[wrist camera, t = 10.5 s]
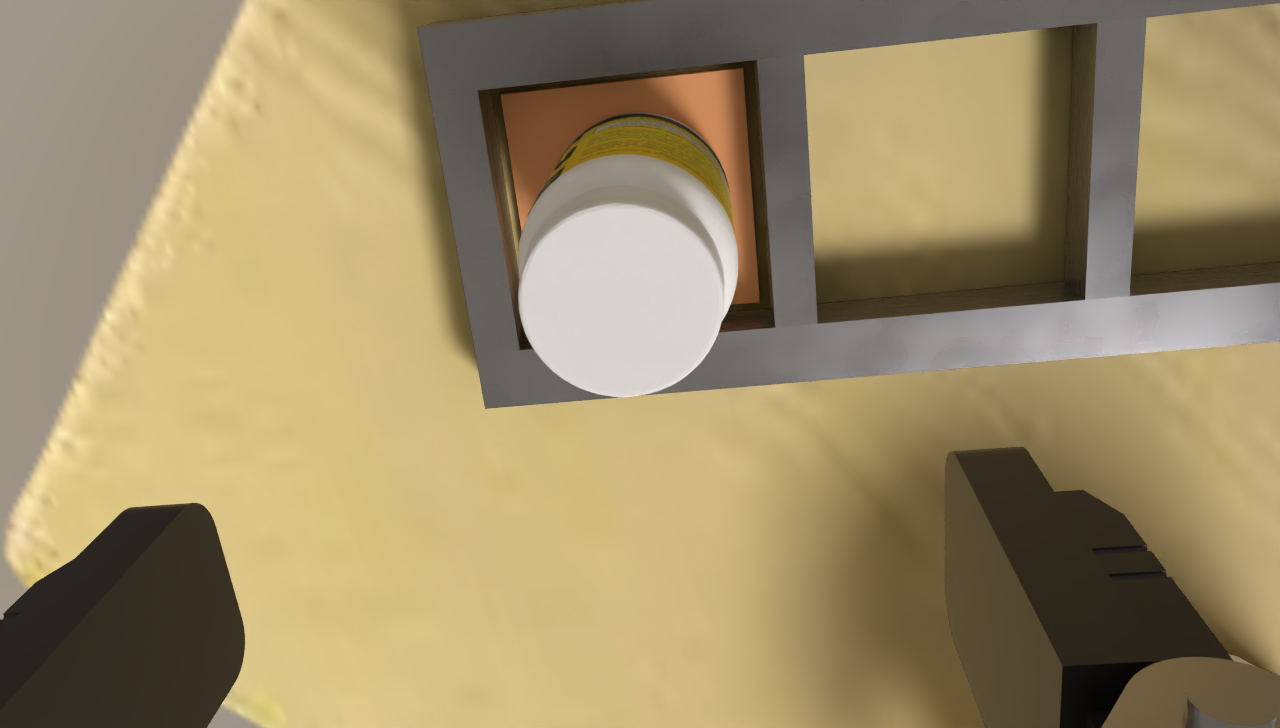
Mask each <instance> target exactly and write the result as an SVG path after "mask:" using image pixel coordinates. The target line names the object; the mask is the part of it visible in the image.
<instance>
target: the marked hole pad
mask: <svg viewBox="0 0 1280 728" xmlns="http://www.w3.org/2000/svg"><path fill="white" fill-rule="evenodd" d="M501 102H502V108H503V115H504V121H505V128H506V134H507V141H508V147H509V154H510V160H511V166H512V173H513V179H514V186H515V192H516V199H517V205H518V212H519V218H520V225H521V231H522V230H523V227H524V224H525V222H526V219H527V216H528V214H529V211H530V209H531V208H532V206H533V204H534V202H535V200H536V198H537V197H538V195H539V193H540V192H541V190H542V189H543V187H544V186H545V183H546V181H547V180H548V179H549V177H550V175H551V174H552V172H553V170H554V169H555V167H556V165H557V163H558V161H559V160H560V158H561V156H562V155H563V154H564V152H565V151H566V149H567V148H568V147H569V146H570V144H571V143H572V142H573V141H574V140H575V139H576V138H577V137H578V136H579V135H580V134H581V133H583V132H584V131H585V130H586V129H588V128H590V127H591V126H593V125H594V124H596V123H598V122H600V121H602V120H604V119H607V118H609V117H613V116H616V115H620V114H625V113H636V112H645V113H653V114H659V115H663V116H666V117H669V118H672V119H675V120H677V121H679V122H681V123H683V124H685V125H687V126H688V127H690V128H691V129H693V130H694V131H695V132H697V133H698V134H699V135H700V136H701V137H702V138H703V139H704V140H705V141H706V142H707V143H708V144H709V145H710V146H711V148H712V149H713V150H714V152H715V153H716V155H717V156H718V158H719V160H720V162H721V164H722V167H723V169H724V172H725V175H726V178H727V182H728V185H729V191H730V198H731V206H732V215H733V222H734V229H735V235H736V241H737V246H738V277H737V284H736V289H735V293H734V297H733V299H732V302H731V305H735V304H746V303H757V302H760V297H759V283H758V269H757V256H756V242H755V228H754V214H753V200H752V187H751V173H750V159H749V145H748V131H747V118H746V104H745V90H744V76H743V67H739V68H730V69H721V70H711V71H702V72H693V73H684V74H675V75H665V76H656V77H647V78H638V79H629V80H619V81H610V82H601V83H592V84H583V85H574V86H564V87H555V88H546V89H537V90H528V91H518V92H509V93H502V94H501Z"/></svg>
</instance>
